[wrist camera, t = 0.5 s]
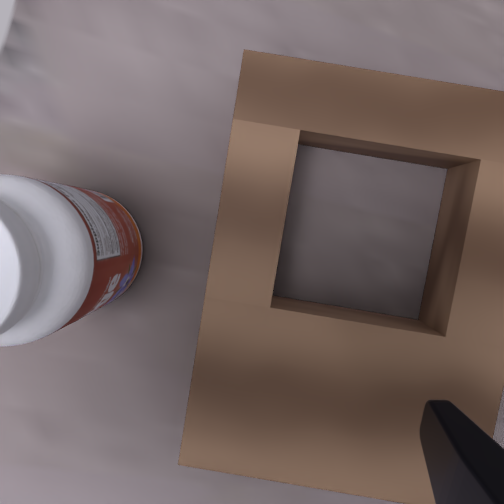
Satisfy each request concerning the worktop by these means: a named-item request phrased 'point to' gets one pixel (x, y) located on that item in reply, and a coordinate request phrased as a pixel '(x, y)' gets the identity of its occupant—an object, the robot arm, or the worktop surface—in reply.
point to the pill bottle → (60, 255)
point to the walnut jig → (339, 318)
